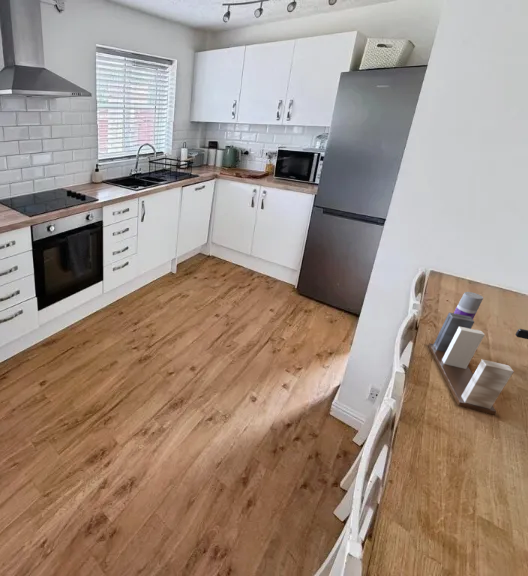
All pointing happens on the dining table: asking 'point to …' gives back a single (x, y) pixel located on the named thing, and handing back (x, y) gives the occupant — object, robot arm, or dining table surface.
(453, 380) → the book rack
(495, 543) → the dining table surface
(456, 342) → the white book
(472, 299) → the container
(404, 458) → the dining table surface
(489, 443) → the dining table surface
